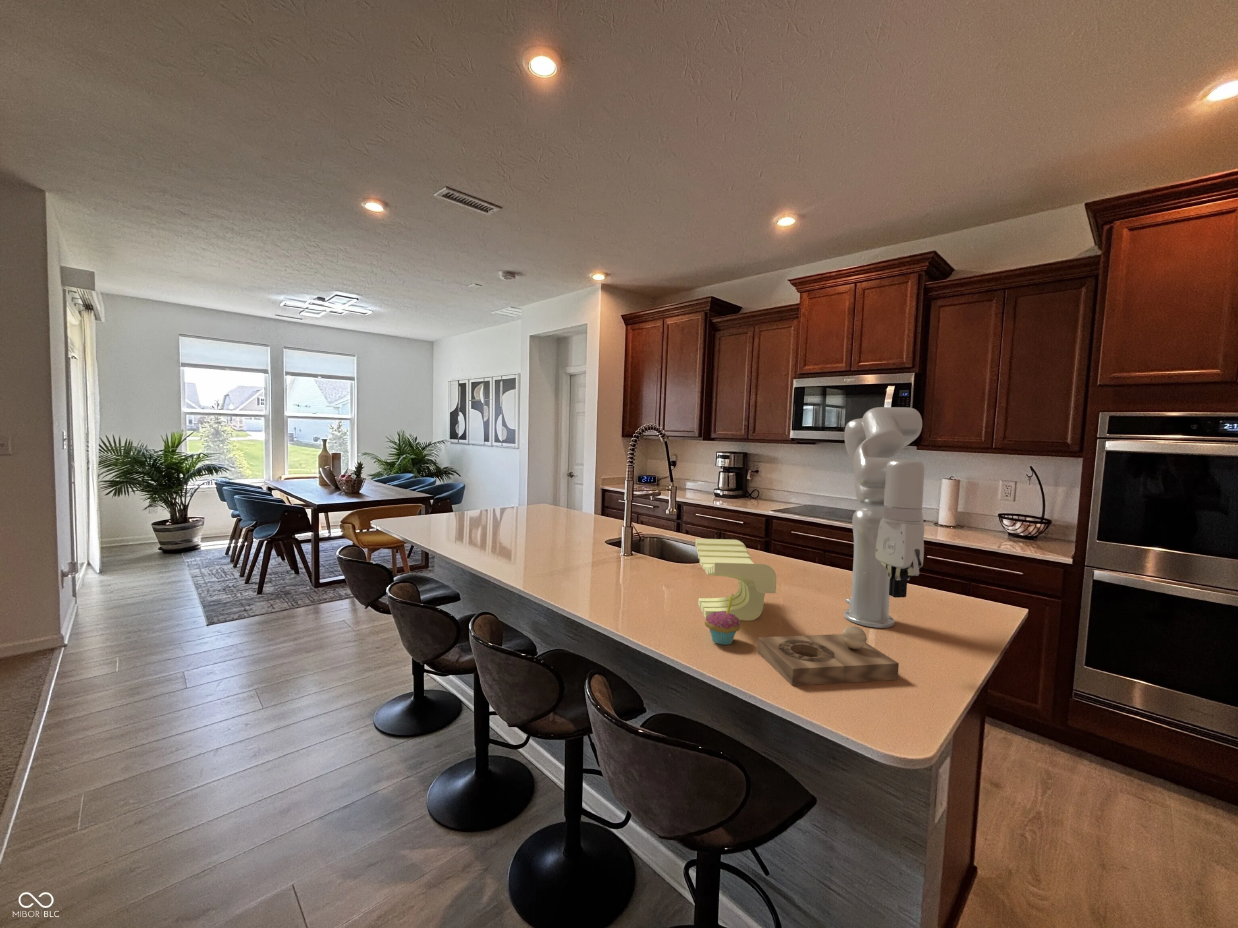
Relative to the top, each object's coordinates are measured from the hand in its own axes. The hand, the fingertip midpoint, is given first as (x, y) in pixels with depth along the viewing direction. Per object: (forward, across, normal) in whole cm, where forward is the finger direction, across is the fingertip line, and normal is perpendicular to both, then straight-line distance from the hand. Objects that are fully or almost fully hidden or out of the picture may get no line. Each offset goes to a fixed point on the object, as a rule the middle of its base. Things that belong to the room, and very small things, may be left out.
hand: (897, 596), depth 115 cm
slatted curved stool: (+15, -36, -25) cm, 46 cm away
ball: (+9, -1, -10) cm, 14 cm away
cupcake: (+15, -16, -35) cm, 41 cm away
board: (+15, -1, -17) cm, 23 cm away
